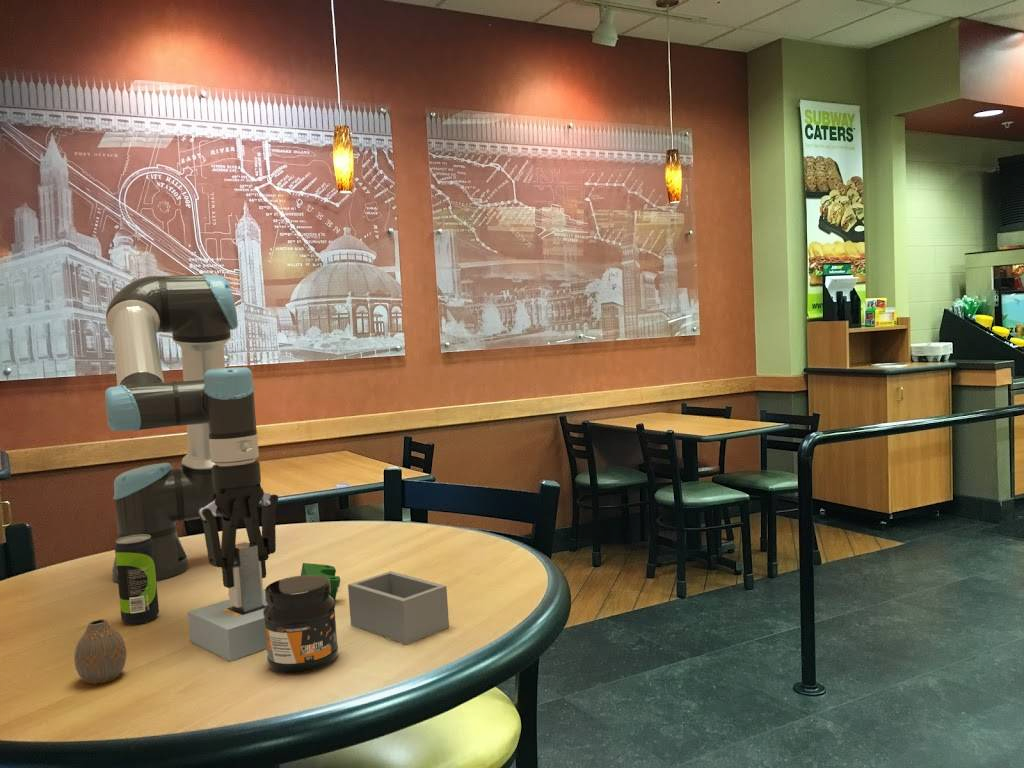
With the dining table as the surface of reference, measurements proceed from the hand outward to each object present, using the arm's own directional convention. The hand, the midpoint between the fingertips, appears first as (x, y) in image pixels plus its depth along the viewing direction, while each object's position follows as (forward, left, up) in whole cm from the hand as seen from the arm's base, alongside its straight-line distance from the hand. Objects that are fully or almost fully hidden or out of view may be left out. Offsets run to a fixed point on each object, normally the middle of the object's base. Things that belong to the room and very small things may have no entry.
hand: (246, 601), depth 135 cm
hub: (0, 0, -6) cm, 6 cm away
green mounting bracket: (-7, +18, -6) cm, 21 cm away
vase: (-3, -22, -6) cm, 23 cm away
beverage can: (-25, -8, -6) cm, 27 cm away
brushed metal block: (0, 0, -3) cm, 3 cm away
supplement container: (+17, 0, -6) cm, 18 cm away
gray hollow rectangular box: (+17, +18, -6) cm, 25 cm away
